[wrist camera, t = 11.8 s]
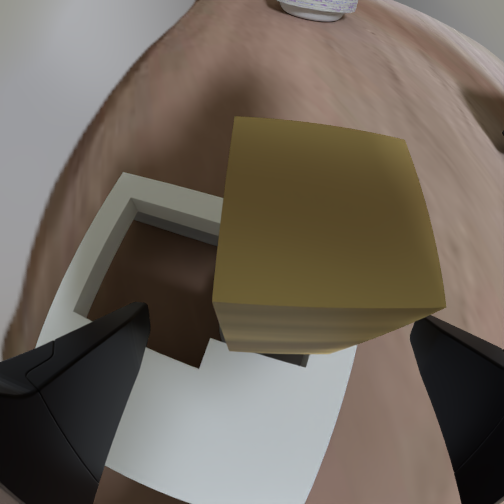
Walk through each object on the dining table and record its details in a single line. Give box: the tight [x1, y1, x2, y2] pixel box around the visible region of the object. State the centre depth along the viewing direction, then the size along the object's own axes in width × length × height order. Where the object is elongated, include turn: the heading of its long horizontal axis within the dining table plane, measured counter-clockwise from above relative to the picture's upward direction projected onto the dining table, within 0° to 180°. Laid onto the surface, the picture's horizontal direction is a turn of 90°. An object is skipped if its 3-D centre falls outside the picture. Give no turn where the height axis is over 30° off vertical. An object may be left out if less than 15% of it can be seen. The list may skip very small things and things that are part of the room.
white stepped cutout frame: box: [35, 172, 357, 504], centre depth 14 cm, size 15×15×4 cm
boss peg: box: [212, 116, 446, 366], centre depth 11 cm, size 6×6×13 cm
